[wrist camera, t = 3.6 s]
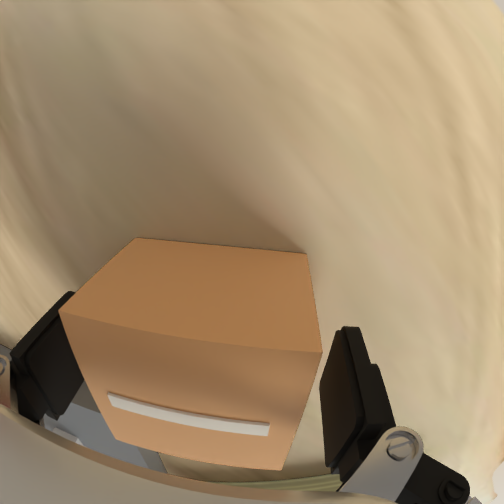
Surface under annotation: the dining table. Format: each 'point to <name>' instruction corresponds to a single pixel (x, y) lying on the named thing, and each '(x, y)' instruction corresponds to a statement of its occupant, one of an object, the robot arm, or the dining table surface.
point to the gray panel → (95, 430)
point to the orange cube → (199, 349)
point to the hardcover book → (294, 483)
